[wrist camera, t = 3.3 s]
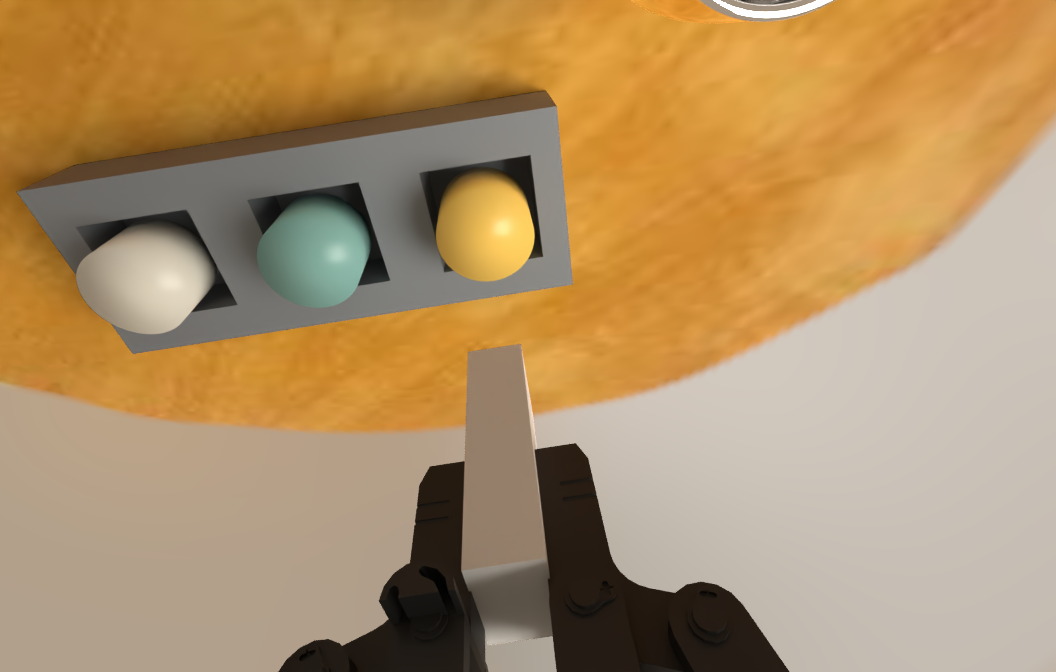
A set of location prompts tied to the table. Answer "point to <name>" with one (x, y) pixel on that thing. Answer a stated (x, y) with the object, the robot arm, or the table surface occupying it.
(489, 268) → the button amber
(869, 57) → the table surface
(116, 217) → the console
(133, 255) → the button ivory
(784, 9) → the beer glass
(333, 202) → the button teal
